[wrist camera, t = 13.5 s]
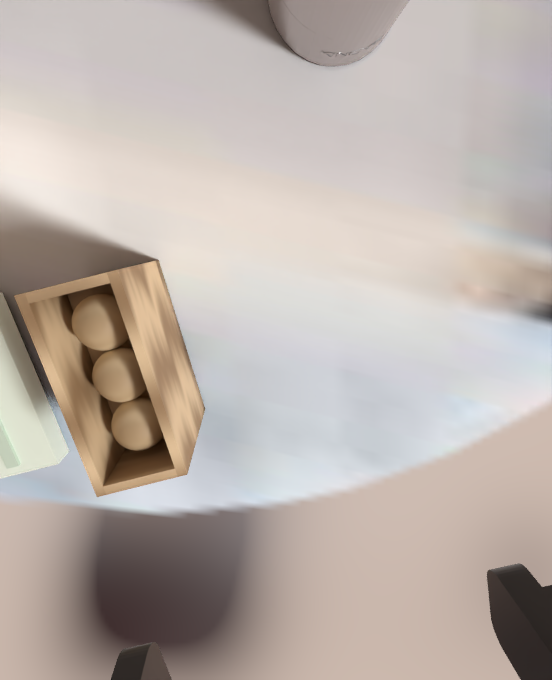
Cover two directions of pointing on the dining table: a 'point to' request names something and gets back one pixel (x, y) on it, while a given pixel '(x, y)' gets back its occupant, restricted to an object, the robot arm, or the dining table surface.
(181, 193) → the dining table surface
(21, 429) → the lid
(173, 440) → the oak box
